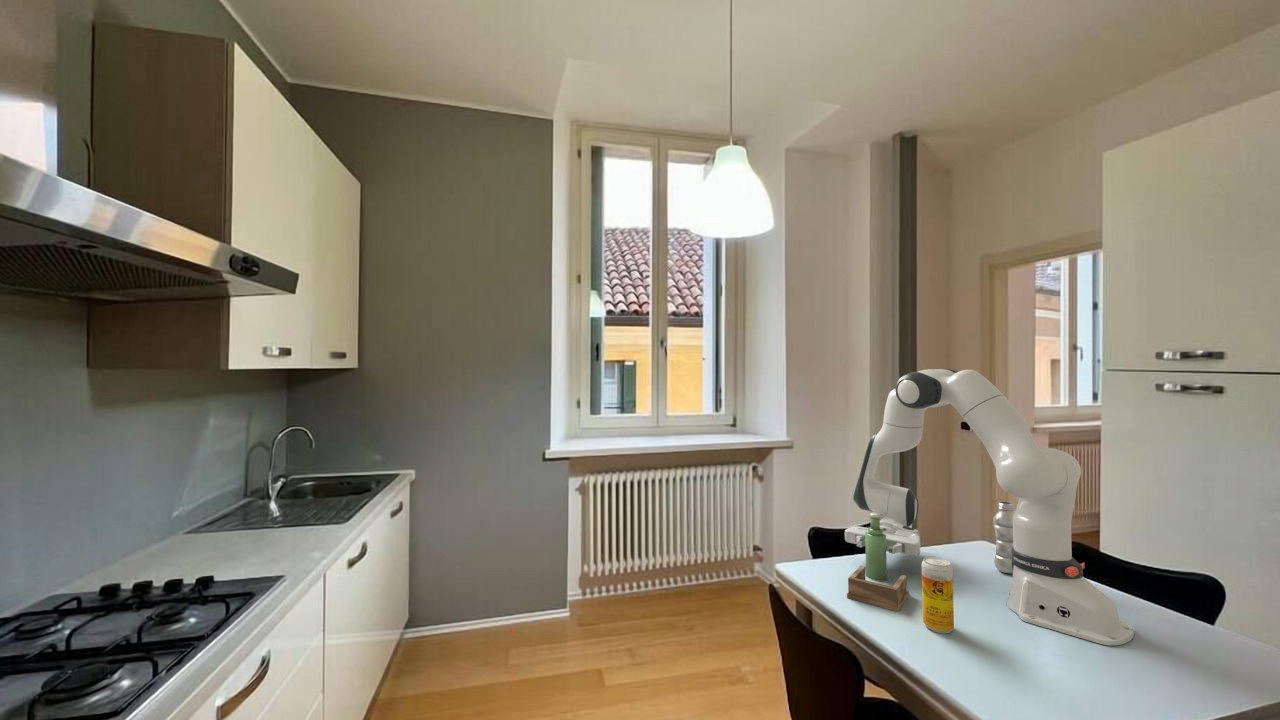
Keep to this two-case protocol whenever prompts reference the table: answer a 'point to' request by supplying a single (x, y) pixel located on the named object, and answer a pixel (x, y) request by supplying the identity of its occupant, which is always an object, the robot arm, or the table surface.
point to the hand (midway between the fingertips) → (875, 547)
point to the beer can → (937, 594)
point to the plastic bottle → (1004, 536)
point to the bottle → (876, 550)
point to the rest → (877, 591)
